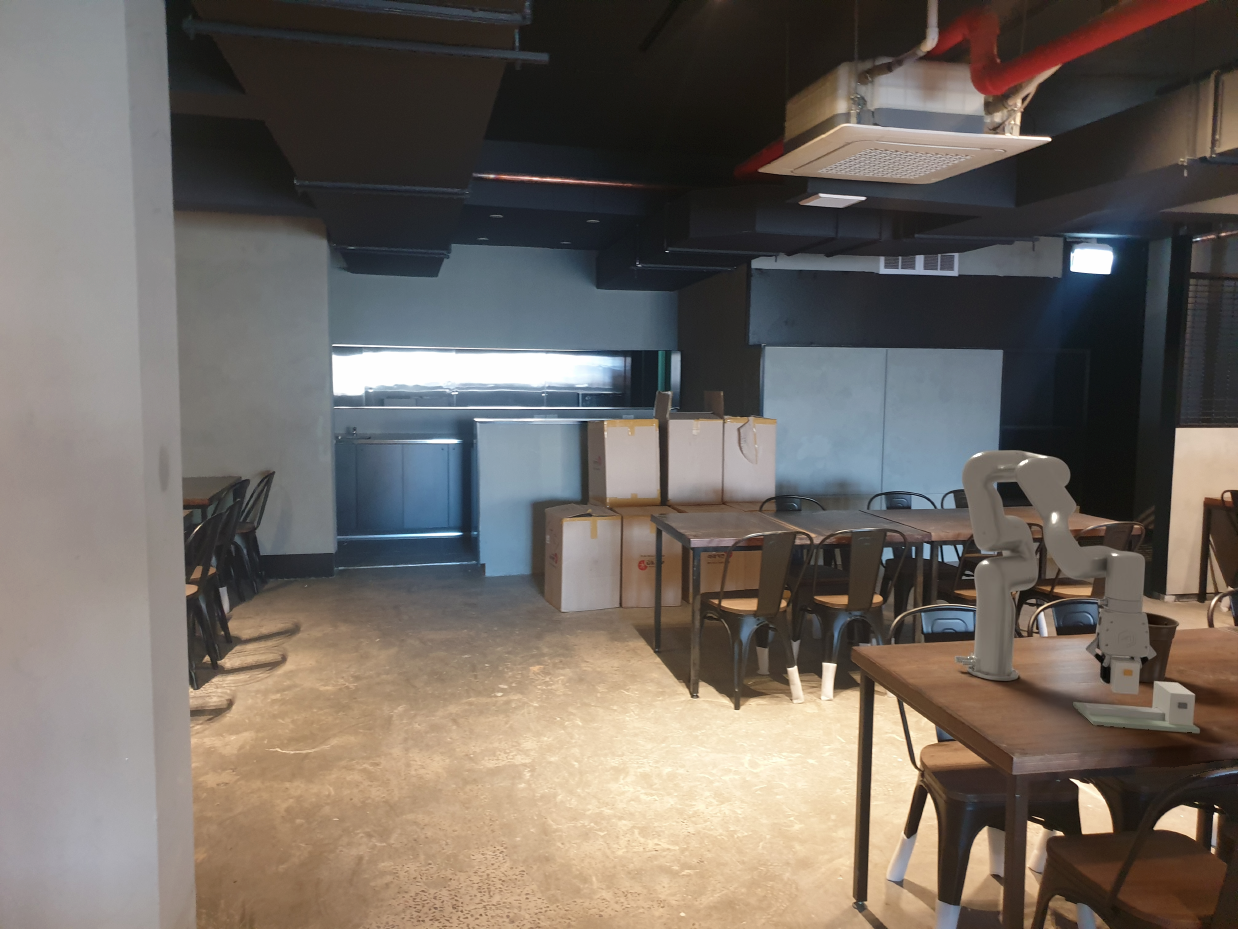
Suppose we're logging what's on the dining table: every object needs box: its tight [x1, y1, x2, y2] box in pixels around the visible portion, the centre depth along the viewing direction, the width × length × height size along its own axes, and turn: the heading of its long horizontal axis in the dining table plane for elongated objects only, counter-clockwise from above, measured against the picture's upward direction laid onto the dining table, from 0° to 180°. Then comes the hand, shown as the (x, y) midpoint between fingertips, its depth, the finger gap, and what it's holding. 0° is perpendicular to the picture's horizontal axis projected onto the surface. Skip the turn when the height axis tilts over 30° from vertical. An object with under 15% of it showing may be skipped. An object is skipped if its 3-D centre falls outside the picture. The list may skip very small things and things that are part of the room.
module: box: [1099, 656, 1140, 695], centre depth 191 cm, size 5×9×7 cm, turn 170°
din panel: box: [1073, 681, 1201, 734], centre depth 192 cm, size 22×12×8 cm, turn 80°
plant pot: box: [1139, 611, 1180, 684], centre depth 222 cm, size 16×16×16 cm
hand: (1119, 682), depth 192 cm, fingers closed on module, 5 cm apart
